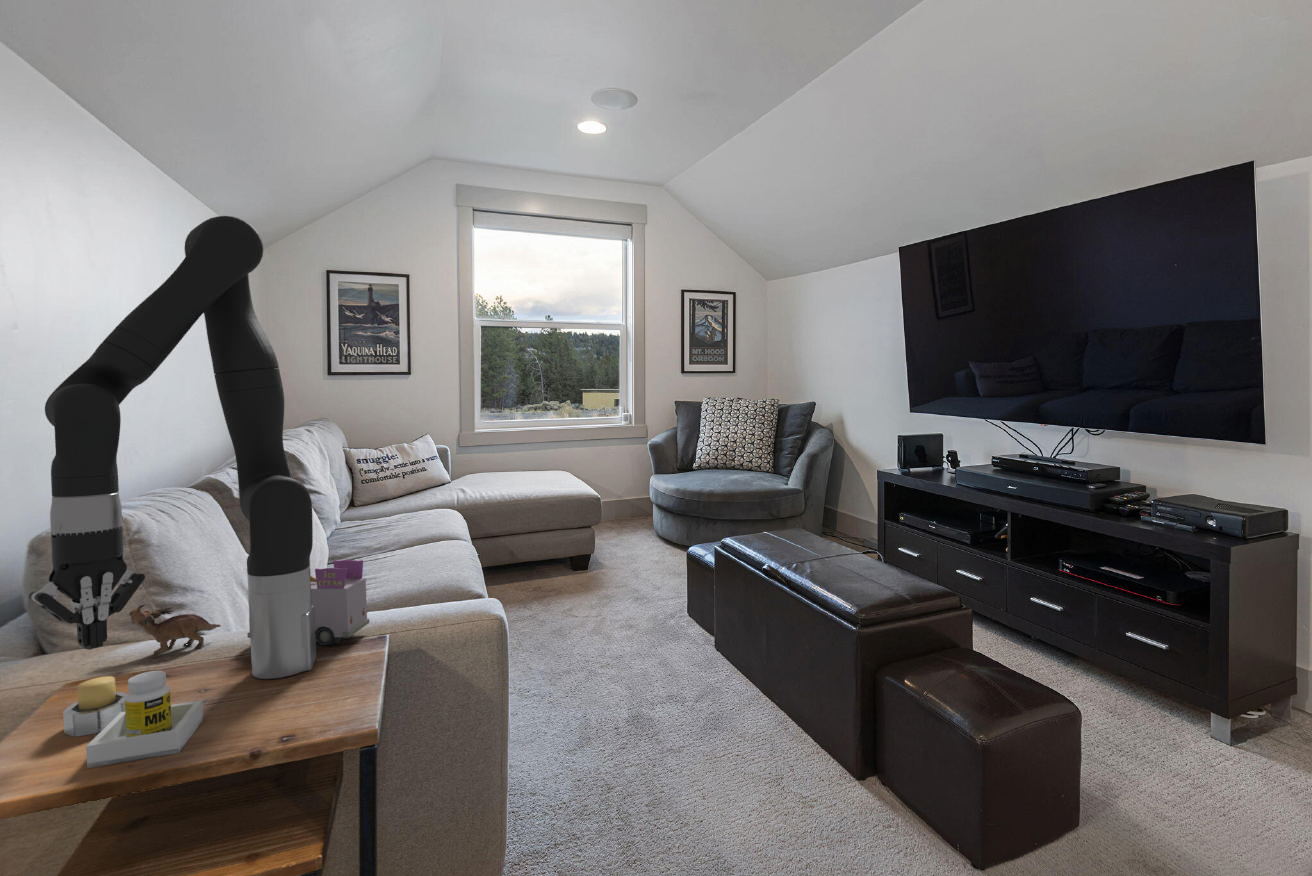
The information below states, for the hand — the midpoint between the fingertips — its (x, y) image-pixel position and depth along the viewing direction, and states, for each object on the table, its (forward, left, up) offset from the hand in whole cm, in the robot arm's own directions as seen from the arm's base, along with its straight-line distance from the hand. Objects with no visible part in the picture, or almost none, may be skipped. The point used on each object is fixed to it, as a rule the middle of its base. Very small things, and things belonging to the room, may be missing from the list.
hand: (92, 647), depth 90 cm
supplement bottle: (-9, +9, -11) cm, 17 cm away
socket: (0, 0, -11) cm, 11 cm away
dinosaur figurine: (0, -30, -11) cm, 32 cm away
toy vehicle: (-23, -26, -11) cm, 37 cm away
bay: (-9, +9, -11) cm, 17 cm away
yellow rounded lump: (0, 0, -8) cm, 8 cm away
